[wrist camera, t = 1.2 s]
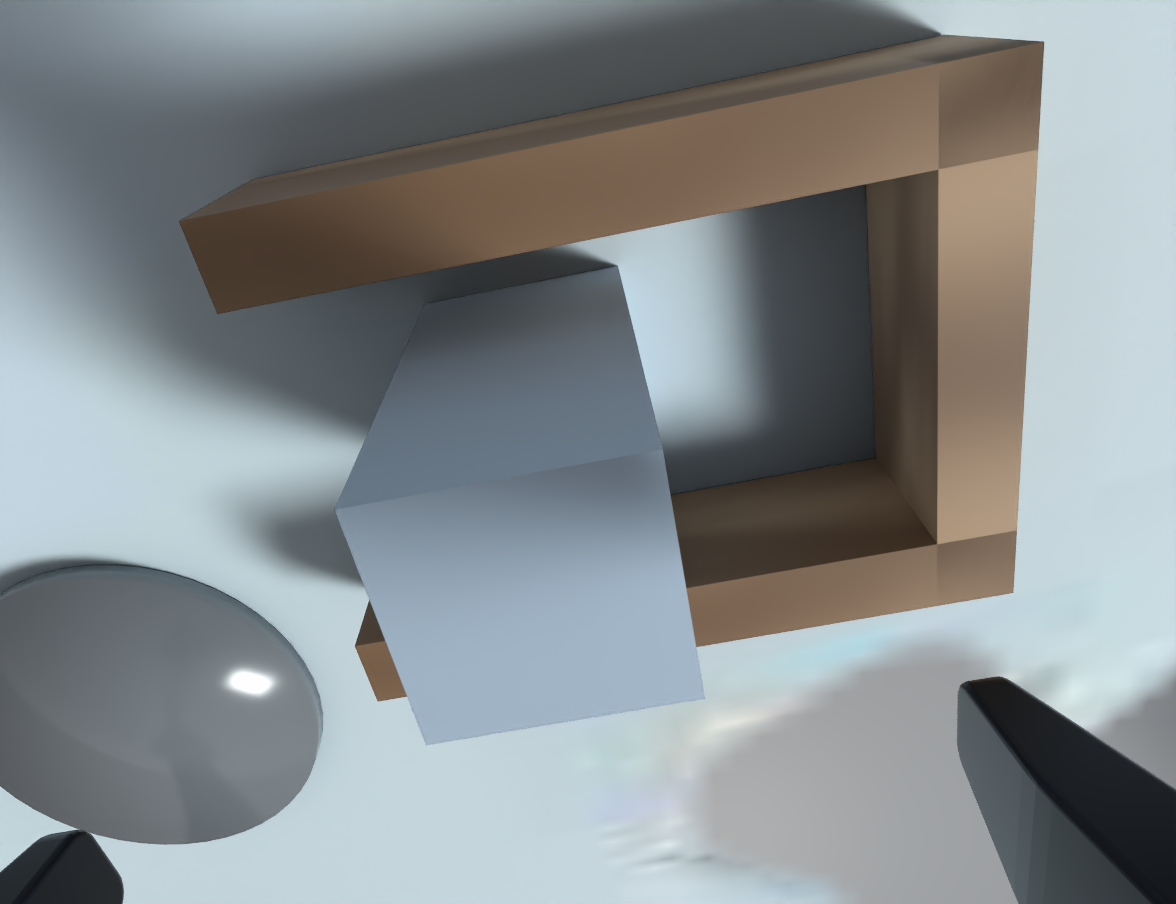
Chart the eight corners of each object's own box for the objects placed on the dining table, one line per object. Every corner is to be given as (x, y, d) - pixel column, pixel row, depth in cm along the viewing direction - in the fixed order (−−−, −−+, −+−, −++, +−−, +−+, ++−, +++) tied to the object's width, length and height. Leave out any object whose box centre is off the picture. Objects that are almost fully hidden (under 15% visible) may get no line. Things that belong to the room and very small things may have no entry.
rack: (941, 501, 20) (1012, 592, 17) (404, 597, 21) (378, 701, 18) (944, 34, 15) (1044, 41, 12) (251, 180, 16) (179, 221, 13)
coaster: (367, 797, 24) (363, 815, 23) (64, 847, 24) (53, 866, 24) (247, 534, 20) (239, 549, 19) (-116, 601, 20) (-133, 617, 20)
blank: (648, 439, 19) (705, 699, 12) (474, 471, 19) (425, 745, 12) (617, 266, 17) (662, 449, 10) (425, 304, 17) (334, 510, 10)
